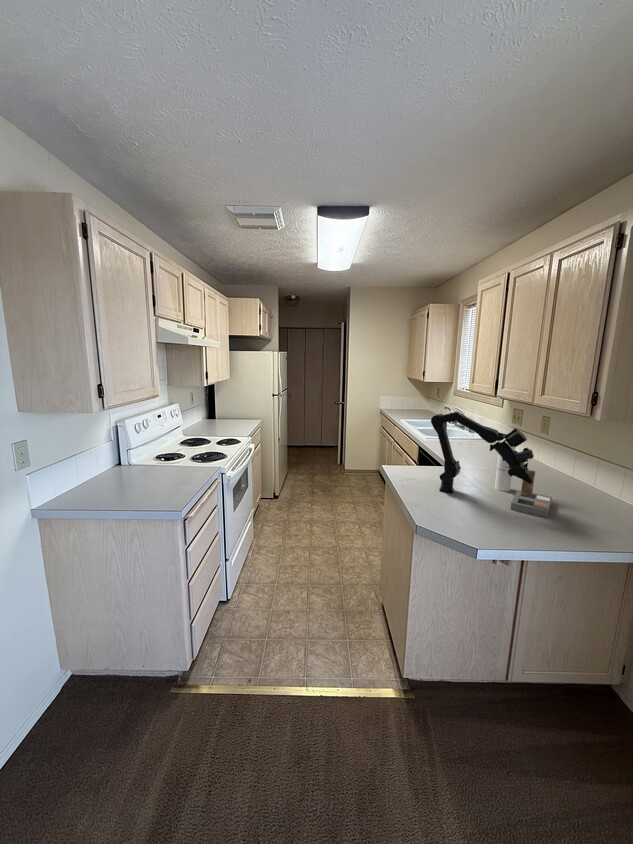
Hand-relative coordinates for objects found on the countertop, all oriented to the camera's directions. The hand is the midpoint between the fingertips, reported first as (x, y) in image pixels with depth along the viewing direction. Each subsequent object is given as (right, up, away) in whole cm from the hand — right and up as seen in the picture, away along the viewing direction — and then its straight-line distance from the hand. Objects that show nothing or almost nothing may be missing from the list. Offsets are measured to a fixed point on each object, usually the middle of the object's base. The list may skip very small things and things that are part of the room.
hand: (531, 481), depth 153 cm
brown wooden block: (-1, -6, +2) cm, 7 cm away
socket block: (+3, -12, +6) cm, 14 cm away
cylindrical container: (+1, -9, +27) cm, 28 cm away
